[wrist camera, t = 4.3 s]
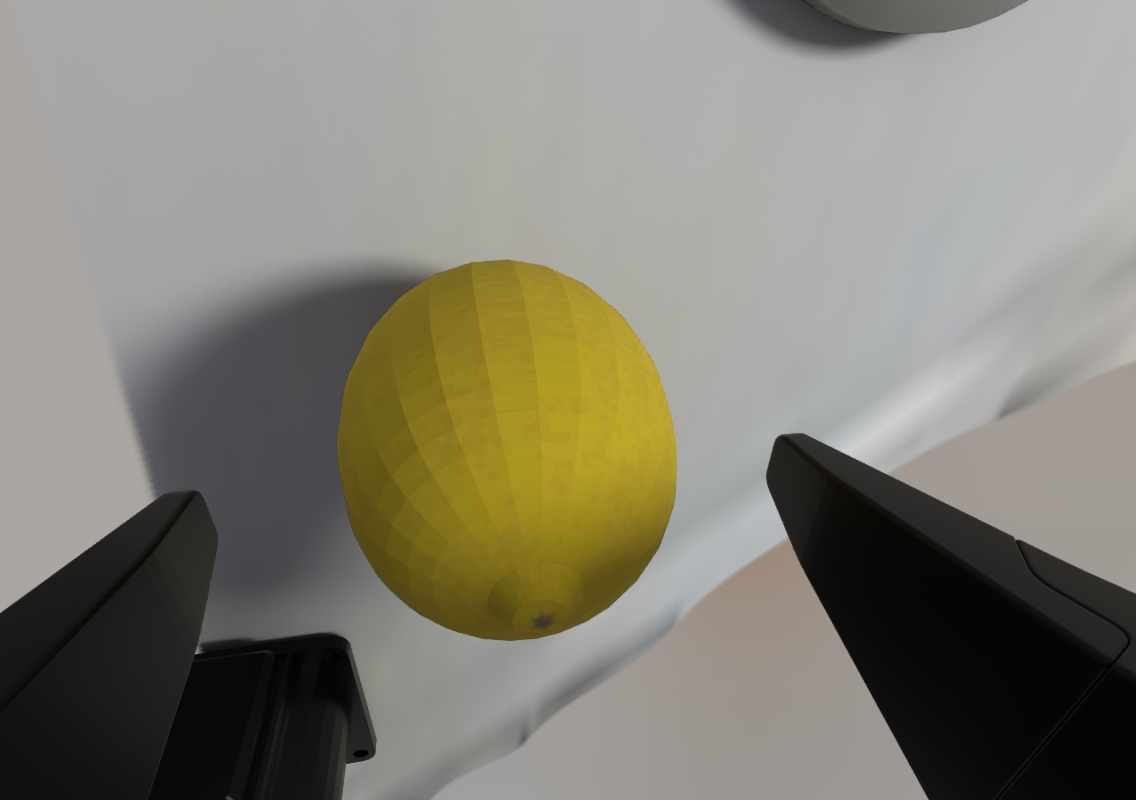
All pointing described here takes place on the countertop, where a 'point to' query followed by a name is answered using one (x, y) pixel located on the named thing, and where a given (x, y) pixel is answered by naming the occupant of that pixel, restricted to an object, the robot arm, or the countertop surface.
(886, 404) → the countertop surface
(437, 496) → the lemon
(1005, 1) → the coaster
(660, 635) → the countertop surface
